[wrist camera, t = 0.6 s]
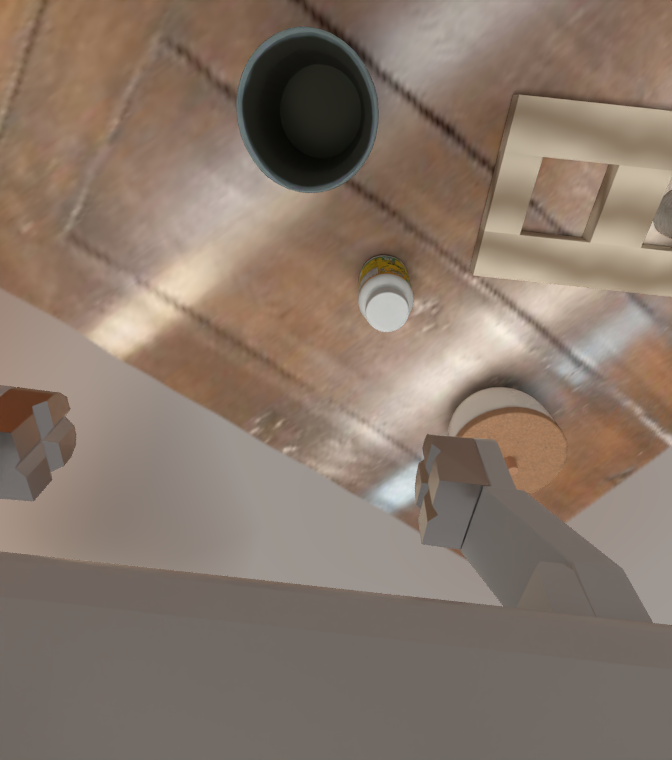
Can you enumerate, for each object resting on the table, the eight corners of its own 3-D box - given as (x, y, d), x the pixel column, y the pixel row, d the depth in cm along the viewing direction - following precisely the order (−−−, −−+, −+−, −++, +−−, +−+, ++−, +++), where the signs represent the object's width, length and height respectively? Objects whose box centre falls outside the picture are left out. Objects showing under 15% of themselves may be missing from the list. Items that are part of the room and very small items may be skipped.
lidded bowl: (455, 361, 55) (474, 415, 46) (557, 378, 56) (596, 434, 46) (428, 442, 62) (439, 503, 52) (519, 456, 62) (547, 520, 53)
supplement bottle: (348, 276, 51) (345, 310, 42) (386, 243, 49) (390, 272, 40) (381, 310, 52) (383, 349, 44) (418, 279, 50) (428, 314, 42)
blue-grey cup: (278, 30, 40) (247, 5, 29) (390, 65, 40) (398, 53, 30) (258, 155, 45) (227, 172, 35) (358, 185, 46) (356, 209, 35)
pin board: (512, 94, 41) (519, 94, 39) (802, 125, 41) (821, 127, 39) (469, 269, 49) (473, 275, 48) (710, 295, 49) (722, 302, 48)
